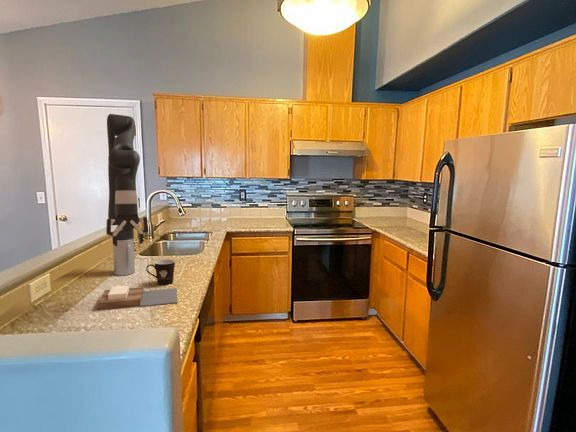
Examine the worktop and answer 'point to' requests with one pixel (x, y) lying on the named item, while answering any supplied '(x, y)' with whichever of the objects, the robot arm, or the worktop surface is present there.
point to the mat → (159, 297)
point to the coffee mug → (163, 271)
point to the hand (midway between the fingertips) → (128, 244)
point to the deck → (131, 300)
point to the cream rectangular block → (118, 292)
